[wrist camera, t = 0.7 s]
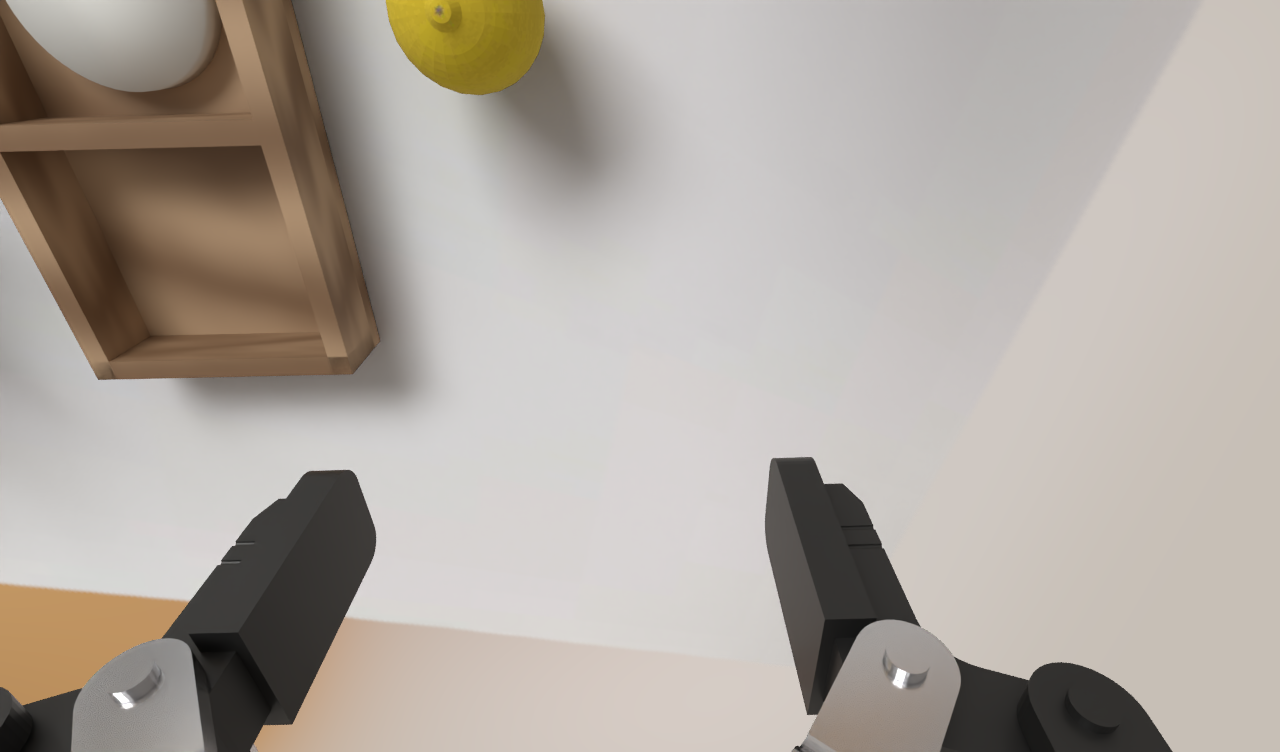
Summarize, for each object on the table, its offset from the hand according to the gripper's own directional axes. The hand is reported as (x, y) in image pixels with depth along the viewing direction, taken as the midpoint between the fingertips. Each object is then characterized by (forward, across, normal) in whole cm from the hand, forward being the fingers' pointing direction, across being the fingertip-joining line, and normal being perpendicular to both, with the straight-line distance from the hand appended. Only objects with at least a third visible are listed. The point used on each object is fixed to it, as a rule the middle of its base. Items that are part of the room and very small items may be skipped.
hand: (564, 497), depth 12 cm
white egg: (+21, +20, -10) cm, 30 cm away
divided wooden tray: (+22, +20, -4) cm, 30 cm away
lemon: (+22, +5, -8) cm, 24 cm away
